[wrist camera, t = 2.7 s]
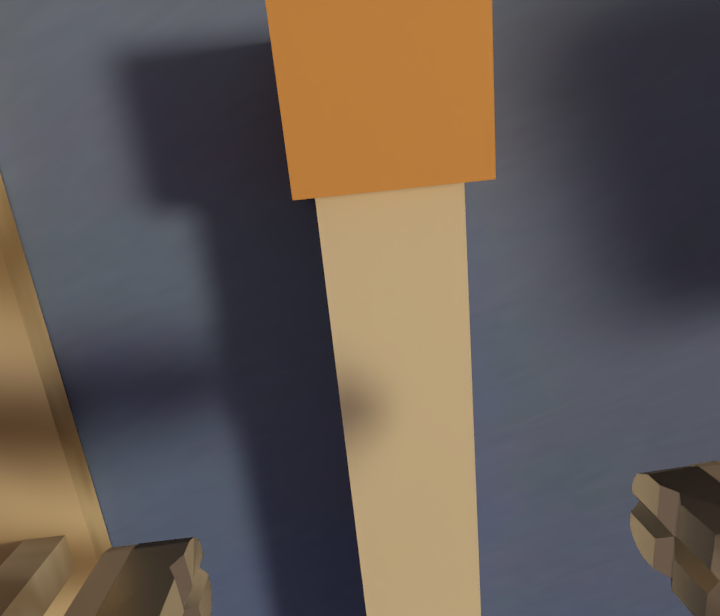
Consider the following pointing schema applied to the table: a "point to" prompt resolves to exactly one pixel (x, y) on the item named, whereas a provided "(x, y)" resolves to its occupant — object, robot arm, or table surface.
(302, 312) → the table surface
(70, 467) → the rail
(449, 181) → the orange tipped beige bar
